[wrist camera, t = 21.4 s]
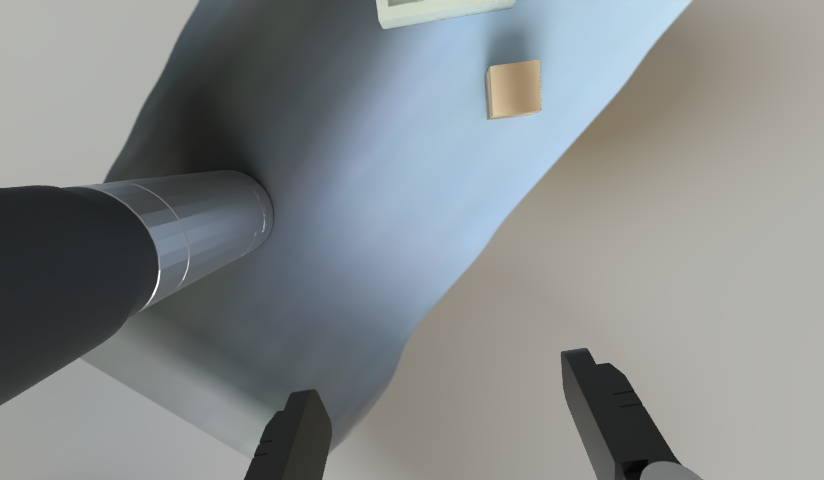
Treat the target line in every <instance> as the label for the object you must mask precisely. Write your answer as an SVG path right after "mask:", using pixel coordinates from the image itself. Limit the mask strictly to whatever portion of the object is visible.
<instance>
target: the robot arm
mask: <svg viewBox="0 0 824 480" xmlns="http://www.w3.org/2000/svg"><path fill="white" fill-rule="evenodd" d="M272 226H273V208H272V205H271V202H270V199H269V197H268V195H267V193H266V191H265V190H264V189H263V188H262V186H261V185H260V184H259V183H258V182H257V181H255V180H254V179H253V178H252V177H250V176H248V175H246V174H244V173H242V172H238V171H234V170H221V171H211V172H200V173H191V174H182V175H173V176H164V177H155V178H146V179H137V180H128V181H119V182H111V183H103V184H94V185H85V186H76V187H66V188H59V187H54V186H39V185H38V186H37V185H36V186H23V187H11V188H0V405H2V404H3V403H5V402H7V401H9V400H10V399H12V398H14V397H15V396H17V395H19V394H20V393H22V392H24V391H25V390H27V389H29V388H30V387H32V386H34V385H35V384H37V383H38V382H40V381H42V380H43V379H45V378H46V377H48V376H50V375H52V374H53V373H55V372H56V371H58V370H60V369H61V368H63V367H65V366H66V365H68V364H69V363H71V362H73V361H74V360H76V359H77V358H79V357H81V356H82V355H84V354H85V353H87V352H89V351H90V350H92V349H93V348H95V347H97V346H98V345H100V344H101V343H103V342H104V341H106V340H107V339H109V338H110V337H111V336H112V335H114V334H115V333H116V332H117V331H118V330H119V329H120V328H121V326H122V325H123V324H124V323H125V321H126V320H127V318H129V317H131V316H132V315H134V314H136V313H138V312H140V311H142V310H143V309H145V308H147V307H149V306H151V305H153V304H155V303H156V302H158V301H160V300H162V299H164V298H166V297H167V296H169V295H171V294H173V293H175V292H176V291H178V290H180V289H182V288H184V287H186V286H187V285H189V284H191V283H193V282H195V281H197V280H199V279H200V278H202V277H204V276H206V275H208V274H210V273H212V272H213V271H215V270H217V269H219V268H221V267H223V266H225V265H226V264H228V263H230V262H232V261H234V260H236V259H238V258H240V257H242V256H243V255H245V254H247V253H249V252H251V251H253V250H254V249H256V248H258V247H259V246H261V245H262V244H263V243H264V242H265V241H266V239H267V237H268V236H269V234H270V232H271V229H272ZM561 363H562V378H563V389H564V393H565V398H566V401H567V404H568V407H569V410H570V412H571V415H572V417H573V419H574V422H575V425H576V427H577V429H578V432H579V434H580V437H581V439H582V442H583V444H584V447H585V449H586V452H587V454H588V456H589V459H590V461H591V464H592V466H593V469H594V471H595V474H596V476H597V479H598V480H703V479H701V478H700V477H699V476H698V475H697V474H695V473H694V472H692V471H691V470H689V469H688V468H686V467H684V466H683V465H682V464H681V463H680V462H679V461H678V460H677V459H676V457H675V456H674V454H673V453H672V451H671V449H670V448H669V446H668V445H667V443H666V441H665V440H664V438H663V436H662V435H661V433H660V432H659V430H658V428H657V427H656V425H655V424H654V422H653V420H652V419H651V417H650V415H649V414H648V412H647V410H646V409H645V407H643V405H642V402H641V401H640V399H639V397H638V396H637V394H635V392H634V390H633V388H632V386H631V384H630V383H629V381H628V380H627V378H626V376H625V375H624V374H623V373H622V372H620V371H619V370H618V369H617V368H615V367H614V366H613V365H611V364H610V363H604V364H598V365H596V363H595V361H594V359H593V357H592V356H591V354H590V352H589V351H588V349H587V348H581V349H575V350H568V351H562V352H561ZM331 437H332V426H331V421H330V418H329V416H328V414H327V411H326V409H325V407H324V405H323V403H322V401H321V398H320V396H319V394H318V392H317V391H316V390H315V389H312V390H305V391H299V392H293V393H291V394H290V396H289V398H288V401H287V404H286V406H285V409H284V411H277V413H276V414H275V415H274V416H273V418H272V419H271V420H270V422H269V423H268V424H267V425H266V427H265V430H264V432H263V434H262V437H261V439H260V445H258V447H257V449H256V452H255V454H254V458H253V459H252V461H251V464H250V466H249V469H248V471H247V474H246V476H245V478H244V480H322V477H323V473H324V468H325V464H326V460H327V456H328V451H329V447H330V443H331Z"/></svg>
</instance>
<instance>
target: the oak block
mask: <svg viewBox="0 0 824 480" xmlns="http://www.w3.org/2000/svg"><path fill="white" fill-rule="evenodd" d="M485 91H486V105H487V120H492V119H500V118H508V117H516V116H524V115H530V114H533V113H536V112H538V111H541V84H540V59H537V60H530V61H523V62H515V63H508V64H501V65H494V66H490V67H489V69H488V71H487V73H486V75H485Z"/></svg>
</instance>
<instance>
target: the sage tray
mask: <svg viewBox="0 0 824 480" xmlns="http://www.w3.org/2000/svg"><path fill="white" fill-rule="evenodd" d="M515 1H516V0H376V3H377V11H378V18H379V22H380V24H381V26H382V28H383V29H389V28H394V27H400V26H406V25H412V24H418V23H424V22H430V21H436V20H442V19H448V18H454V17H460V16H465V15H471V14H477V13H483V12H489V11H495V10H501V9H507V8H513V6H514V3H515Z"/></svg>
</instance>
